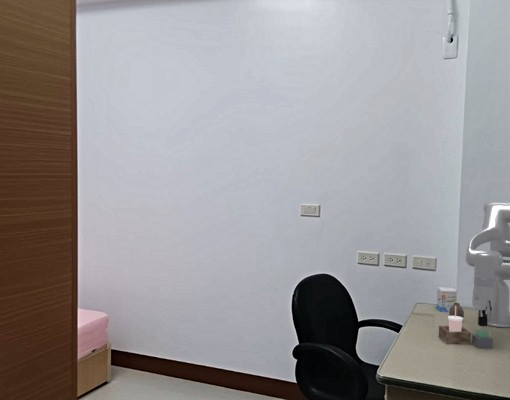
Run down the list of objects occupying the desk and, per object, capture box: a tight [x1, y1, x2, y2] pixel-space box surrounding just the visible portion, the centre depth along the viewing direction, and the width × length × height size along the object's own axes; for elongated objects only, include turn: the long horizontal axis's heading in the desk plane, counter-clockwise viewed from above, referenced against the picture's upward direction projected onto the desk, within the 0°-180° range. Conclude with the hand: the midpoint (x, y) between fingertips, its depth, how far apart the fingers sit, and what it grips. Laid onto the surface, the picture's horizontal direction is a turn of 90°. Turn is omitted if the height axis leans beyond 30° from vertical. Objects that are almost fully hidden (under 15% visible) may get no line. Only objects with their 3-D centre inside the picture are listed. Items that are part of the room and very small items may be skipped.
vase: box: [448, 302, 465, 319], centre depth 247 cm, size 7×7×9 cm
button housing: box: [471, 333, 494, 349], centre depth 209 cm, size 6×6×4 cm
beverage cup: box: [447, 306, 464, 332], centre depth 216 cm, size 6×6×14 cm
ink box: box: [436, 286, 458, 313], centre depth 268 cm, size 9×8×12 cm
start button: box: [475, 328, 490, 338], centre depth 209 cm, size 4×4×5 cm
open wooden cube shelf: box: [438, 325, 472, 345], centre depth 216 cm, size 10×10×5 cm
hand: (482, 325), depth 208 cm, fingers closed
